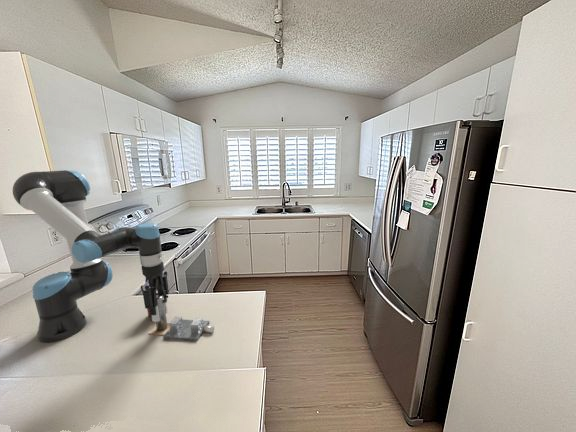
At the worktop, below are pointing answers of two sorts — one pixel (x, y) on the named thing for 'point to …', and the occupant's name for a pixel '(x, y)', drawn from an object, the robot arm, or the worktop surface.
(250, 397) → the worktop surface
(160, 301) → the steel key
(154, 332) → the cork mat
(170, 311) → the worktop surface
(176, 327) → the block
